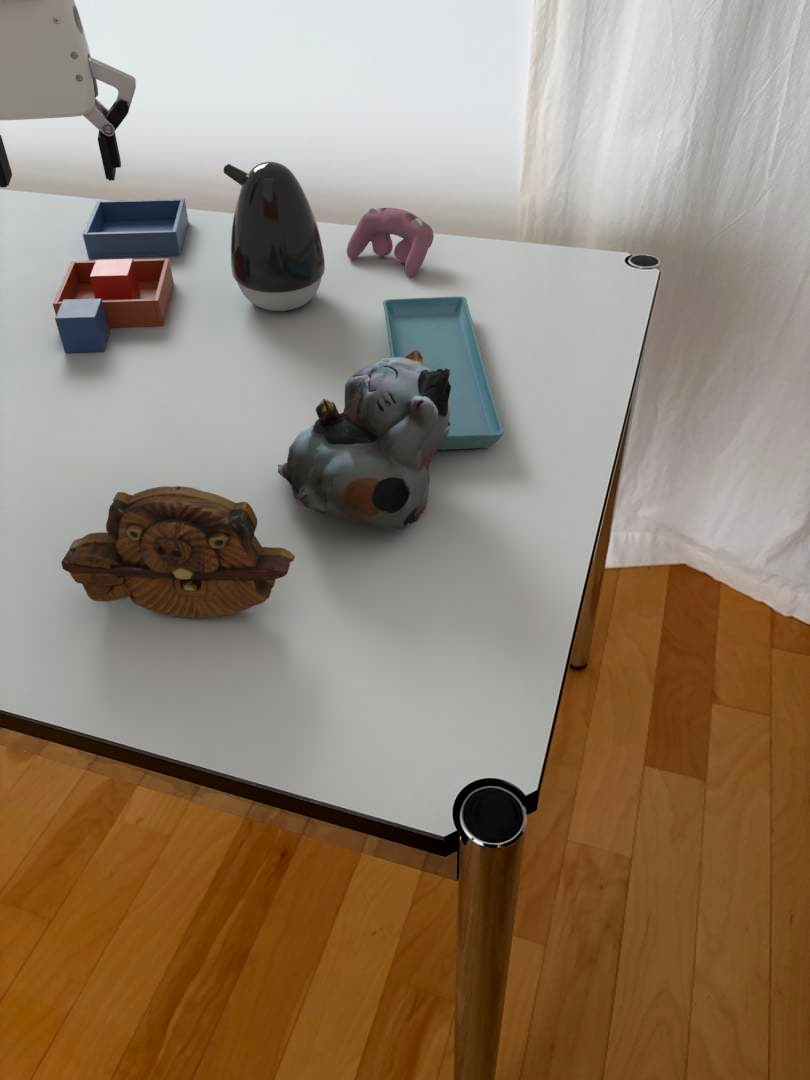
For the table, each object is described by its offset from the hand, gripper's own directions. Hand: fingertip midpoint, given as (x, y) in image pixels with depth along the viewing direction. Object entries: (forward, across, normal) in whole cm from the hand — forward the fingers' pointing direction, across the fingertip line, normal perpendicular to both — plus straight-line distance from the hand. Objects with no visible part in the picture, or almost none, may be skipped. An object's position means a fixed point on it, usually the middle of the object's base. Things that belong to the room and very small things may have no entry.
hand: (59, 178), depth 85 cm
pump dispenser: (+16, -20, -4) cm, 26 cm away
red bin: (+16, -2, -5) cm, 17 cm away
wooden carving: (+16, -9, +43) cm, 47 cm away
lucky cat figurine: (+16, -24, +31) cm, 43 cm away
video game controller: (+16, -34, -11) cm, 39 cm away
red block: (+16, -2, -5) cm, 17 cm away
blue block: (+16, +1, +2) cm, 16 cm away
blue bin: (+16, -4, -22) cm, 28 cm away
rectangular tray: (+16, -34, +16) cm, 41 cm away
